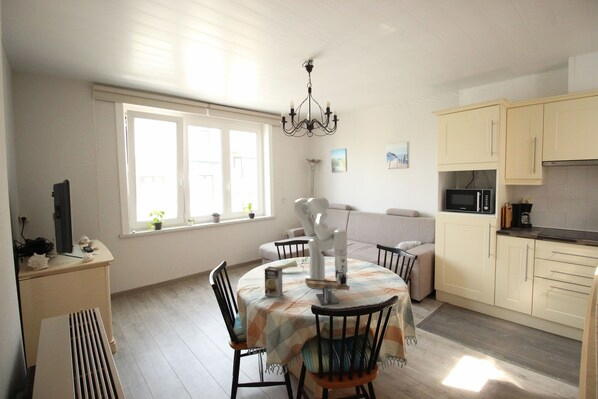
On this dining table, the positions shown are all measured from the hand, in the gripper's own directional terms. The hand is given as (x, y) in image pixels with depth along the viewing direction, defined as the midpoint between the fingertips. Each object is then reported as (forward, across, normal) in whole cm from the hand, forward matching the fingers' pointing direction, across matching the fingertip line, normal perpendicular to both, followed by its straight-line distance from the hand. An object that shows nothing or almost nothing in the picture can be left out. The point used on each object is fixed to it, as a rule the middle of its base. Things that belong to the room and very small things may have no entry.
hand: (340, 281), depth 164 cm
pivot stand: (+10, 0, +8) cm, 13 cm away
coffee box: (+11, +13, +38) cm, 41 cm away
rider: (+2, 0, 0) cm, 2 cm away
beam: (+2, 0, +8) cm, 8 cm away
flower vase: (+10, +52, +20) cm, 57 cm away
